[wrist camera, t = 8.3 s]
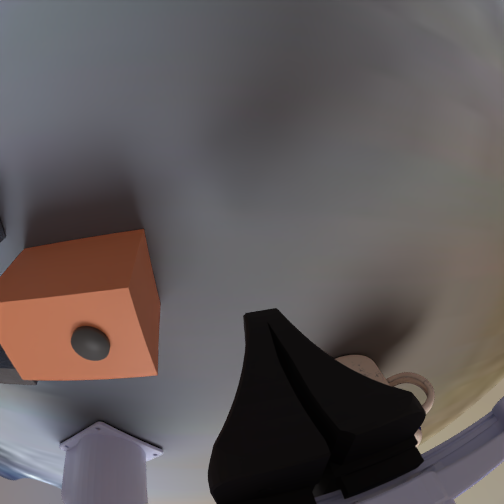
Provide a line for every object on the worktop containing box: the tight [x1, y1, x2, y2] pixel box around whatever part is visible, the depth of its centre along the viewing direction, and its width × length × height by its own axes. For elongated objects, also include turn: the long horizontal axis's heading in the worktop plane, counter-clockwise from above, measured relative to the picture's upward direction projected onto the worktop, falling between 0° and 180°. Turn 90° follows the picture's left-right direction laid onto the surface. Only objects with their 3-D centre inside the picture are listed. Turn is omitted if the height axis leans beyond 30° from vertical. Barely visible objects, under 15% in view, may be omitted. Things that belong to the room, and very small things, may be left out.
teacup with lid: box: [335, 355, 435, 447], centre depth 21 cm, size 12×9×12 cm
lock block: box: [0, 229, 160, 380], centre depth 14 cm, size 8×5×6 cm, turn 93°
